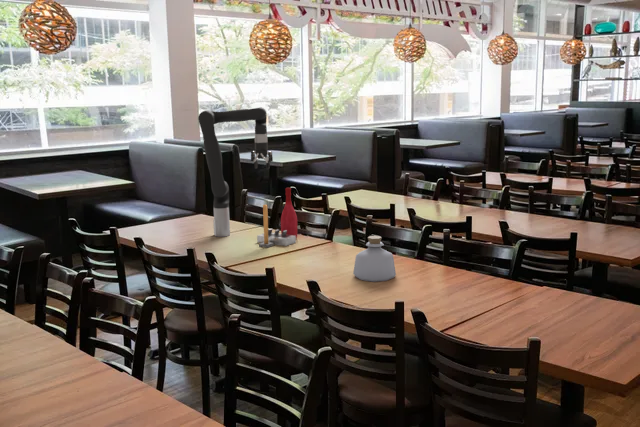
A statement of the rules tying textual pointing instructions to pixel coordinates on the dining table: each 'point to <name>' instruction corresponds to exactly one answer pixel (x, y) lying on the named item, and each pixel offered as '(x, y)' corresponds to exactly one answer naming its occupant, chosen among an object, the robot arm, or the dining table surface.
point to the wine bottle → (289, 216)
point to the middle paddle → (276, 232)
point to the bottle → (374, 262)
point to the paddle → (270, 231)
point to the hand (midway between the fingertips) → (262, 168)
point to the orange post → (265, 229)
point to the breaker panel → (278, 239)
